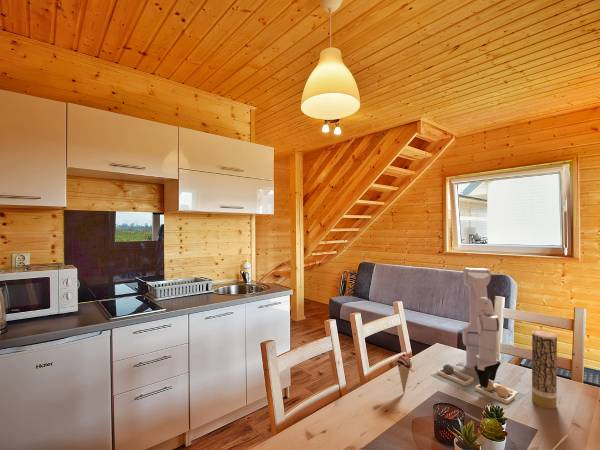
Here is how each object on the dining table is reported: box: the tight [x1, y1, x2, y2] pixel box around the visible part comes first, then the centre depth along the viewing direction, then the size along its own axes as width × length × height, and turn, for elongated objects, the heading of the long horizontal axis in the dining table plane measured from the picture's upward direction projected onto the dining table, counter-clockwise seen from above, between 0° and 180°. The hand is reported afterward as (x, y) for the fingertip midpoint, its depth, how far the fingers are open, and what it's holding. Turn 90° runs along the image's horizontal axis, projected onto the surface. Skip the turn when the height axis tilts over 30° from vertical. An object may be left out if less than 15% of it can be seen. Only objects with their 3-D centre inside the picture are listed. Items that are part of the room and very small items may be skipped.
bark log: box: [531, 329, 558, 410], centre depth 109 cm, size 7×7×25 cm
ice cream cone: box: [395, 353, 413, 393], centre depth 117 cm, size 6×6×15 cm
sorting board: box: [430, 365, 526, 410], centre depth 122 cm, size 16×28×2 cm, turn 34°
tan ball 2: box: [496, 384, 509, 398], centre depth 113 cm, size 4×4×4 cm
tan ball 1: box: [482, 380, 494, 392], centre depth 118 cm, size 4×4×4 cm
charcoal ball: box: [442, 364, 454, 375], centre depth 130 cm, size 4×4×4 cm
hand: (487, 383), depth 118 cm, fingers open, 7 cm apart
